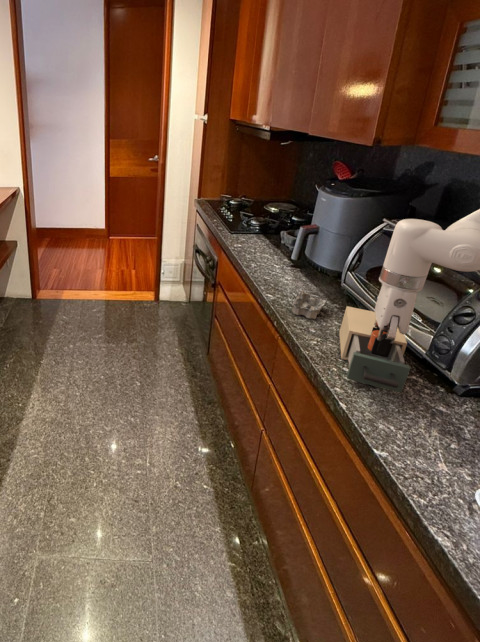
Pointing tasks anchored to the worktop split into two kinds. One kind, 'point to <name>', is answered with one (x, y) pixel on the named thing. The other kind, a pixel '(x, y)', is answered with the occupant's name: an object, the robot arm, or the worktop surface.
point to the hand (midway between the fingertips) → (378, 348)
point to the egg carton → (307, 305)
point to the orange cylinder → (373, 338)
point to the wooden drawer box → (361, 328)
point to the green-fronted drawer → (376, 365)
